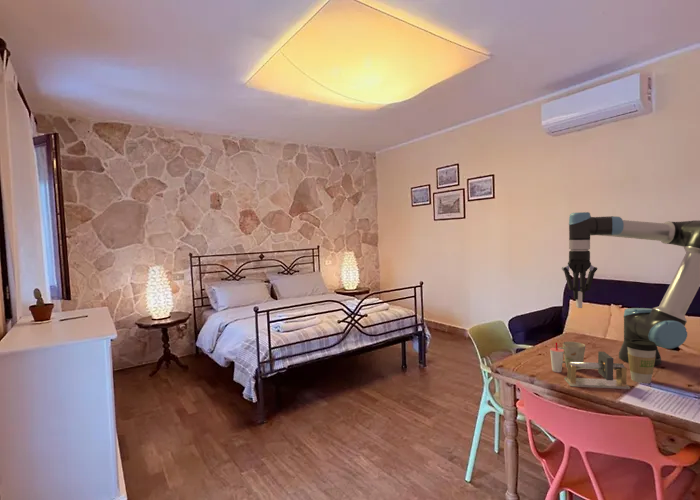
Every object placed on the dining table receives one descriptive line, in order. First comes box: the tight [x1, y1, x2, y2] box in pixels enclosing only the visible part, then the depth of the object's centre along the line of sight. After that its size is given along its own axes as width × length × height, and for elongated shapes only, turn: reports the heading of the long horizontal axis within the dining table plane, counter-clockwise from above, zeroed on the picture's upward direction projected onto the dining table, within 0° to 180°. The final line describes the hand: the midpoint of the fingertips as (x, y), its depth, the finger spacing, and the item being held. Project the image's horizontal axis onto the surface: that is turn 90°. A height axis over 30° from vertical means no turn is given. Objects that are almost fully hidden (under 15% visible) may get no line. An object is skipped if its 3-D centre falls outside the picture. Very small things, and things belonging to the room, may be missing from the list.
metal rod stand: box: [563, 361, 631, 390], centre depth 152 cm, size 20×7×8 cm, turn 79°
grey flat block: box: [597, 351, 614, 381], centre depth 152 cm, size 2×8×8 cm, turn 169°
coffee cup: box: [626, 339, 659, 384], centre depth 155 cm, size 10×10×15 cm
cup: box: [549, 342, 564, 373], centre depth 167 cm, size 5×5×12 cm
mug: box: [558, 341, 586, 371], centre depth 171 cm, size 8×13×10 cm, turn 78°
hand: (579, 307), depth 166 cm, fingers closed
